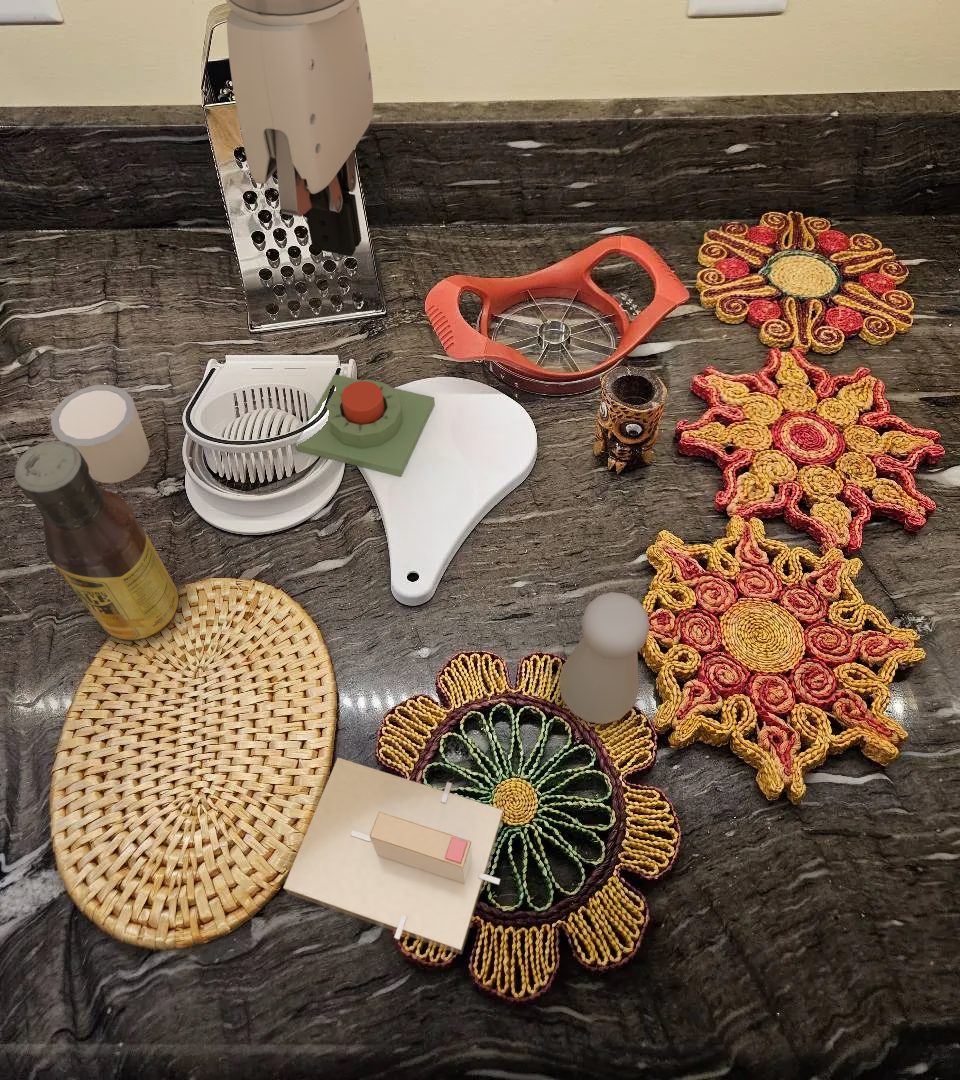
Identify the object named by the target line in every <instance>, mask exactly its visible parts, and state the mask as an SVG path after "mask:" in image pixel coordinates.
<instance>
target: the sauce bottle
mask: <svg viewBox="0 0 960 1080" xmlns="http://www.w3.org/2000/svg"><path fill="white" fill-rule="evenodd" d="M14 480H15V482H16V484H17V486H18V487H19V489H20V491H21V493H22V494H23V495H24V496H25V498H27V499H28V500H30V501H31V502H33V504H34V505H35V506H36V508H37V509H38V510H39V512H40V514H41V517H42V522H43V523H42V524H43V532H44V542H45V551H46V554H47V557H48V558H49V560H50V562H51V563H52V564H53V565H54V567H55V568H56V569H57V571H58V572H59V574H60V575H61V576H62V577H63V579H64V580H65V581H66V582H67V584H68V585H69V587H70V588H71V589H72V591H73V592H74V593H75V594H76V595H77V597H78V598H79V600H80V601H81V602H82V603H83V604H84V606H85V607H86V608H87V609H88V611H89V612H90V614H91V615H92V617H94V619H95V620H96V621H97V622H98V624H99V625H100V626H101V628H102V629H103V630H104V632H106V633H108V634H109V635H111V636H112V637H115V638H117V639H120V640H123V641H126V642H135V641H141V640H143V639H147V638H150V637H153V636H154V635H156V634H158V633H161V632H162V631H164V630H165V629H166V628H167V627H168V626H169V624H170V623H171V620H173V617H174V616H175V614H176V611H177V609H178V607H179V592H178V589H177V587H176V584H175V583H174V580H173V578H172V577H171V576H170V574H169V571H168V570H167V568H166V566H165V565H164V563H163V561H162V559H161V557H160V555H159V554H158V552H157V550H156V548H155V546H154V544H153V543H152V541H151V539H150V538H149V536H148V534H147V532H146V530H145V529H144V527H143V525H142V524H141V522H140V521H138V520H137V518H136V516H135V514H134V511H133V510H132V508H131V507H130V505H129V504H128V503H127V502H126V501H125V500H124V499H123V498H122V496H120V495H118V494H116V493H114V492H112V491H109V490H106V489H104V488H101V487H100V486H99V485H98V484H97V483H96V482H95V480H94V479H92V477H91V476H90V474H89V467H88V465H87V463H86V461H85V459H84V458H83V456H82V455H81V453H80V452H79V450H78V449H77V448H75V447H74V446H73V445H71V444H69V443H67V442H63V441H60V440H56V441H55V440H54V441H44V442H41V443H38V444H35V445H34V446H32V447H30V448H28V449H27V450H26V451H25V452H24V453H23V454H22V455H21V456H20V457H19V458H18V460H17V463H16V464H15V468H14Z"/></svg>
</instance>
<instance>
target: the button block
mask: <svg viewBox="0 0 960 1080" xmlns="http://www.w3.org/2000/svg"><path fill="white" fill-rule="evenodd" d="M359 381H368V382H372V383H374V384H376V385H377V386H378V387H379V388H380V389H381V391H382V394H383V401H384V412H383V414H382V416H381V417H380V418H379V419H378V420H377V421H375V422H373V423H370V424H364V425H361V424H355V423H353V422H351V421H349V420H348V419H347V418H346V416H345V414H344V410H343V405H342V400H341V396H342V393H343V391H344V389H345V388H346V387H347V386H349V385H350V384H352V383H355V382H359ZM333 385H334V386H335V387H336V391H334V392H333V394H332V396H331V398H330V399H329V401H328V403H327V405H326V408H327V410H329V416H328V421H327V422H326V424H325V425H324V426H323V428H322V429H321V430H319V431H318V432H317V433H316V434H314V435H313V436H312V437H310V438H309V439H307V440H306V441H304V442H302V443H300V444H298V446H296V445H295V449H296V451H297V452H299V453H303V454H308V455H312V456H316V457H320V458H324V459H327V460H332V461H336V462H340V463H342V464H348V465H351V466H356V467H360V468H363V469H367V470H372V471H375V472H379V473H383V474H387V475H390V476H395V477H398V478H401V477H403V475H404V473H405V470H406V468H407V466H408V463H409V461H410V459H411V457H412V456H413V455H412V454H413V453H414V450H415V449H416V446H417V444H418V442H419V440H420V438H421V435H422V433H423V431H424V429H425V427H426V425H427V423H428V420H429V419H430V416H431V415H432V412H433V409H434V408H435V405H436V401H435V397H433V396H429V395H425V394H421V393H417V392H412V391H408V390H404V389H399V388H395V387H392V386H390V385H388V384H387V383H386V382H382V381H378V380H373V379H370V378H369V379H357V378H353V377H349V376H344V375H340V374H336V373H335V374H333V376H332V378H331V380H330V381H329V383H328V385H327V386H326V389H325V390H324V392H323V394H322V396H321V397H320V399H319V401H318V402H317V404H316V405H315V408H314V409H313V411H312V413H311V415H310V417H309V418H308V420H307V422H308V421H309V420H310V419H311V418H312V417H313V416H314V415H316V414H317V413H318V411H319V410H320V408H321V406H322V403H323V402H324V401H325V400H326V398H327V397H328V394H329V392H330V389H331V388H332V386H333Z"/></svg>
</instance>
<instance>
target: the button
mask: <svg viewBox="0 0 960 1080" xmlns="http://www.w3.org/2000/svg"><path fill="white" fill-rule="evenodd" d="M341 400H342V405H343V410H344V414H345V416H346V418H347V419H348V420H349V421H351V422H353V423H355V424H361V425H364V424H370V423H373V422H375V421H377V420H378V419H379V418H380V417H381V416H382V414H383V412H384V401H383V394H382V391H381V389H380V388H379V387H378V386H377V385H376V384H374V383H372V382H368V381H359V382H355V383H352V384H350V385H349V386H347V387H346V388H345V389H344V391H343V393H342V396H341Z"/></svg>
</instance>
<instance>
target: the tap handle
mask: <svg viewBox="0 0 960 1080" xmlns="http://www.w3.org/2000/svg"><path fill="white" fill-rule="evenodd" d="M370 839H371V841H372V844H373V846H374V848H375V851H376V853H377V855H379V856H382V857H385V858H388V859H391V860H394V861H397V862H400V863H403V864H406V865H409V866H412V867H415V868H418V869H421V870H424V871H427V872H430V873H433V874H436V875H439V876H442V877H445V878H448V879H451V880H454V881H457V882H460V883H463V884H465V881H466V878H467V875H468V872H469V868H470V865H471V862H472V847H471V841H468V840H465V839H462V838H459V837H456V836H453V835H450V834H447V833H444V832H440V831H437V830H434V829H431V828H428V827H425V826H422V825H419V824H416V823H413V822H410V821H406V820H403V819H400V818H397V817H394V816H391V815H388V814H385V813H382V812H379V813H378V815H377V818H376V821H375V823H374V826H373V829H372V831H371V834H370Z"/></svg>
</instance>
